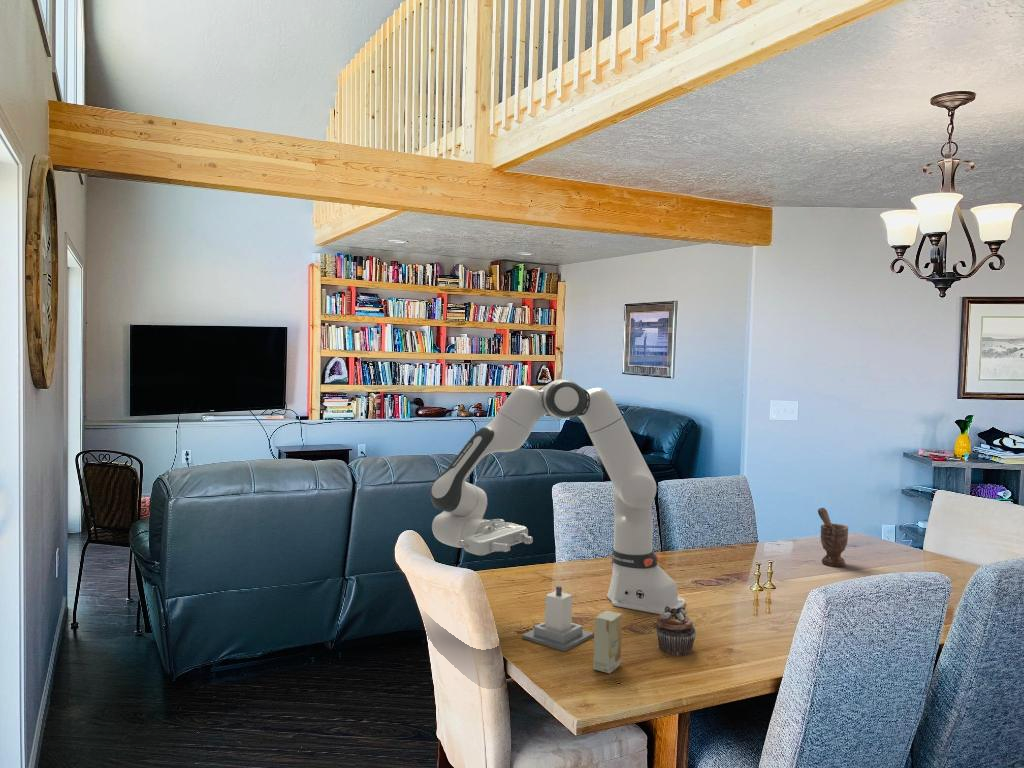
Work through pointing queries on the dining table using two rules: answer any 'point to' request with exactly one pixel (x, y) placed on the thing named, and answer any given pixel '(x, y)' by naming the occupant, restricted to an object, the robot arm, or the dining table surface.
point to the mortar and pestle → (832, 540)
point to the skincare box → (607, 641)
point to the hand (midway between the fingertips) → (520, 544)
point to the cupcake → (675, 632)
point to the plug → (558, 611)
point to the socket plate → (558, 636)
